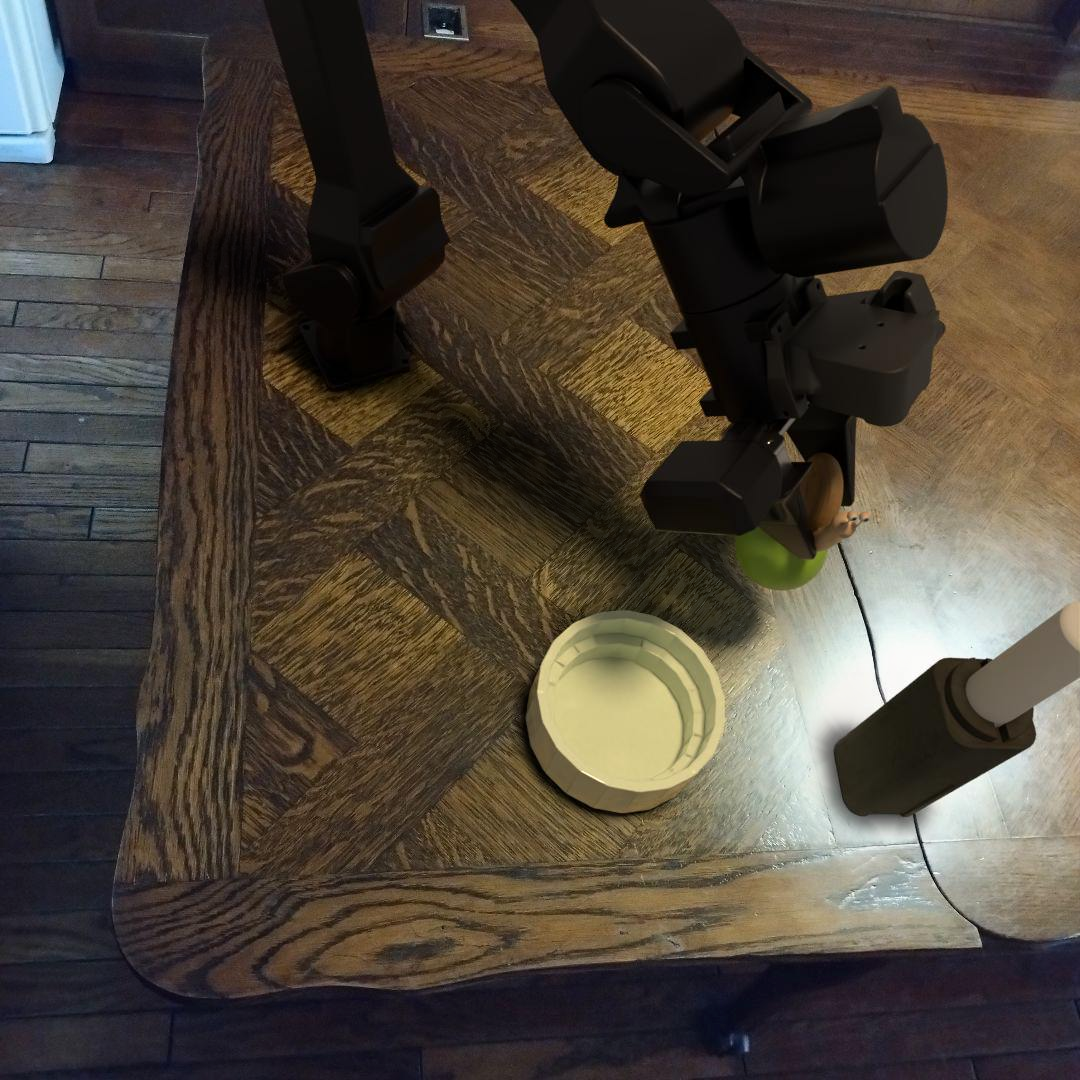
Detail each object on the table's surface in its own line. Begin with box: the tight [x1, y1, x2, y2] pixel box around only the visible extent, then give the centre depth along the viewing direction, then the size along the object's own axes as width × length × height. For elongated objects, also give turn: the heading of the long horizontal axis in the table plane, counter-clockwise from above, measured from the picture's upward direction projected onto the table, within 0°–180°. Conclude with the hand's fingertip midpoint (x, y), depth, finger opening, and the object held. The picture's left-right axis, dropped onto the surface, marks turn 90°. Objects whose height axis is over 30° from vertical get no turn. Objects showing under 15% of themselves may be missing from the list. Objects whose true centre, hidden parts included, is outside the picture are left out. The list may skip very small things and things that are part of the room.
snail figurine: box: [734, 453, 871, 592], centre depth 56 cm, size 5×6×12 cm
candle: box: [834, 600, 1080, 818], centre depth 52 cm, size 5×5×25 cm
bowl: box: [525, 609, 726, 814], centre depth 60 cm, size 11×11×5 cm
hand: (826, 530), depth 56 cm, fingers closed on snail figurine, 4 cm apart
